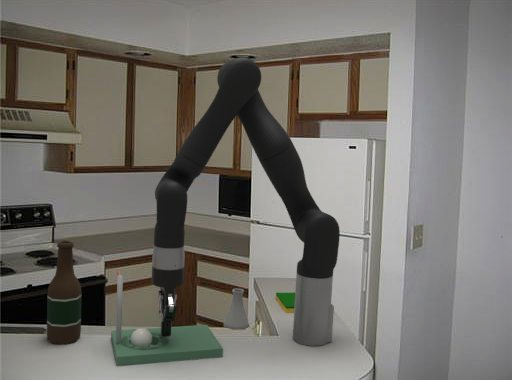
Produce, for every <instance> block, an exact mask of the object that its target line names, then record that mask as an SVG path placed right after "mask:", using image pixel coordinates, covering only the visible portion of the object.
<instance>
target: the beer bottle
mask: <svg viewBox="0 0 512 380" xmlns="http://www.w3.org/2000/svg"><path fill="white" fill-rule="evenodd" d="M74 246H75V245H74V243H73V242H72V241H70V240H61V241H58V242H57V244H56V247H57V259H56V261H57V262H56V270H55V275H54V276H53V278H52V279H51V280H50V282H49V285H48V288H47V297H46V298H47V300H46V302H47V304H46V338H47V341H48V342H50V343H51V344H52V345H62V344H65V345H68V344H69V345H70V344H73V343H76V342H77V341H78V340H79V339H80V338H81V332H82V331H81V330H82V285H81V283H80V281H79V279H78V278H77V276H76V275H75V270H74V256H73V255H74V254H73V251H74V250H73V248H74Z"/></svg>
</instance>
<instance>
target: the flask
mask: <svg viewBox="0 0 512 380" xmlns="http://www.w3.org/2000/svg"><path fill="white" fill-rule="evenodd" d="M244 292H245V290H244V289H243V288H233V289H232V300H231V303H230V306H229V309H228V312H227V314H226V316H225V318H224V321H223V327H224V328H225V329H229V330H237V331H239V330H240V331H244V330H246V329H248V328H250V324H249V323H250V322H249V319H248V317H247V314H246V310H245V305H244V299H243V296H244V295H243V294H244Z"/></svg>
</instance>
